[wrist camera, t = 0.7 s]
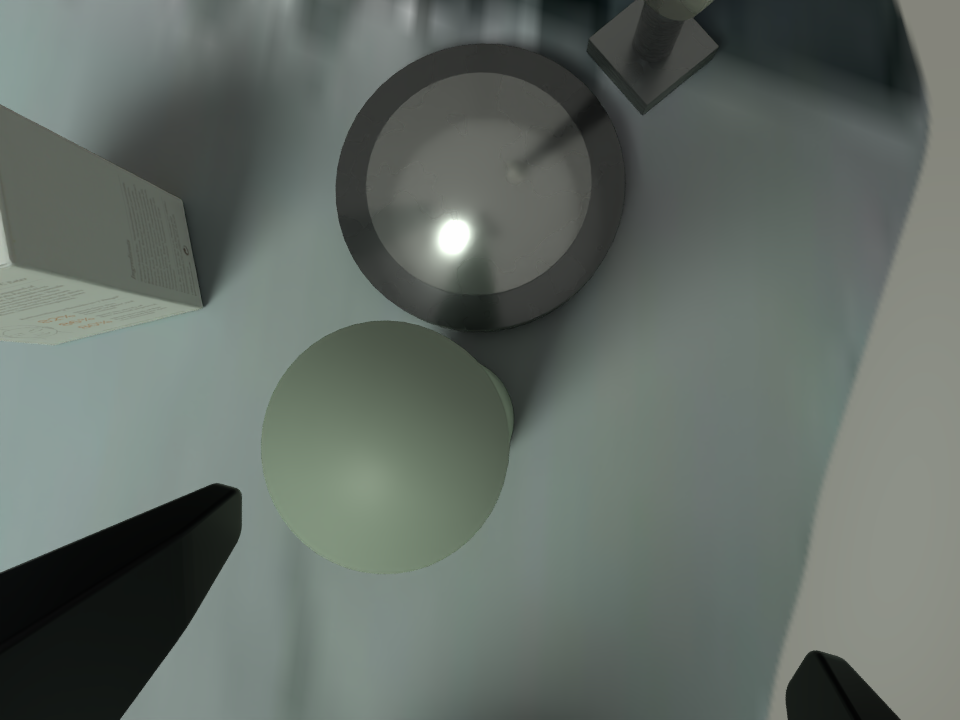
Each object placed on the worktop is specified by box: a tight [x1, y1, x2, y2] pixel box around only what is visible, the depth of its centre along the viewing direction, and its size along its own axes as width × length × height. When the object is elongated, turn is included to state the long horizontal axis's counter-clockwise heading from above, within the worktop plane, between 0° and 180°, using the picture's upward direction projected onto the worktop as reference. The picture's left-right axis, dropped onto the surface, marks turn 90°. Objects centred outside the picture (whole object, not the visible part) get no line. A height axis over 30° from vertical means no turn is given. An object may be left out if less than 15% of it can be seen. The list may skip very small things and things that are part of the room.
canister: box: [261, 321, 514, 574], centre depth 20 cm, size 6×6×13 cm
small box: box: [0, 105, 203, 345], centre depth 23 cm, size 8×6×10 cm
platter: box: [336, 44, 625, 332], centre depth 26 cm, size 13×13×1 cm
